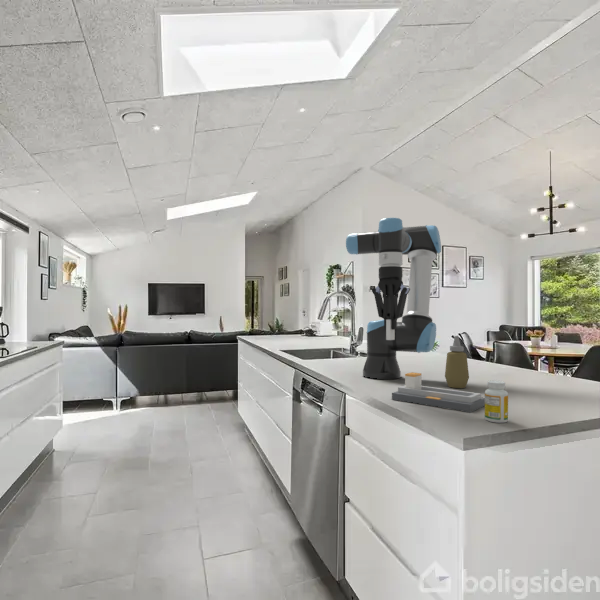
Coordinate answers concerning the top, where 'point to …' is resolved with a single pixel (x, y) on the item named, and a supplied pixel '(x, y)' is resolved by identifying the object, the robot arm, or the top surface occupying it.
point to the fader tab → (413, 380)
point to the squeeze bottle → (456, 366)
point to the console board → (441, 398)
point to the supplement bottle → (496, 402)
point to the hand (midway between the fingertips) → (390, 339)
